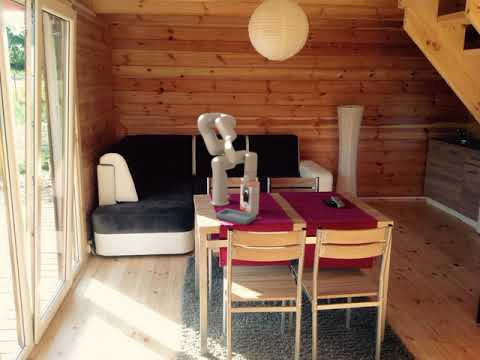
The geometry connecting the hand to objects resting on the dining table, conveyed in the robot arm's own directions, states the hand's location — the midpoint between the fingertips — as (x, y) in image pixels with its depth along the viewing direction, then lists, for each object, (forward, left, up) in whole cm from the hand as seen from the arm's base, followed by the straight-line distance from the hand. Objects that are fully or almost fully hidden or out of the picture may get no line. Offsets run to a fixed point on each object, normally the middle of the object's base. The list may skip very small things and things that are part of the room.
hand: (249, 200), depth 280 cm
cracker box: (0, 0, -8) cm, 8 cm away
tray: (+15, 0, -8) cm, 17 cm away
